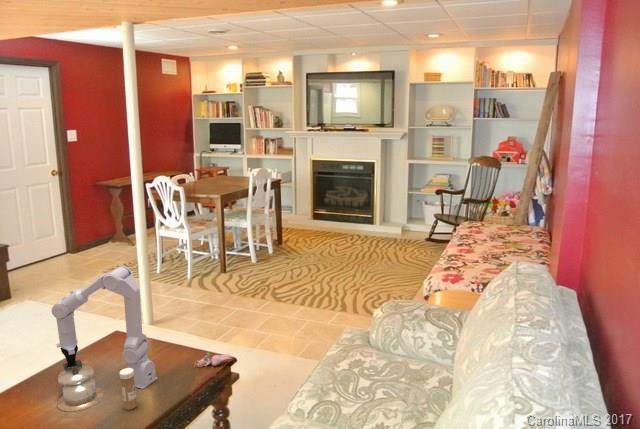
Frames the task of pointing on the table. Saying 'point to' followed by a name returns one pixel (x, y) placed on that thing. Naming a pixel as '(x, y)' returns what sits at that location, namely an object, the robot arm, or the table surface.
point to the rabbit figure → (212, 360)
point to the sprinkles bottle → (128, 388)
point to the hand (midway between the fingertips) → (71, 364)
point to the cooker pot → (80, 396)
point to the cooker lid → (75, 373)
